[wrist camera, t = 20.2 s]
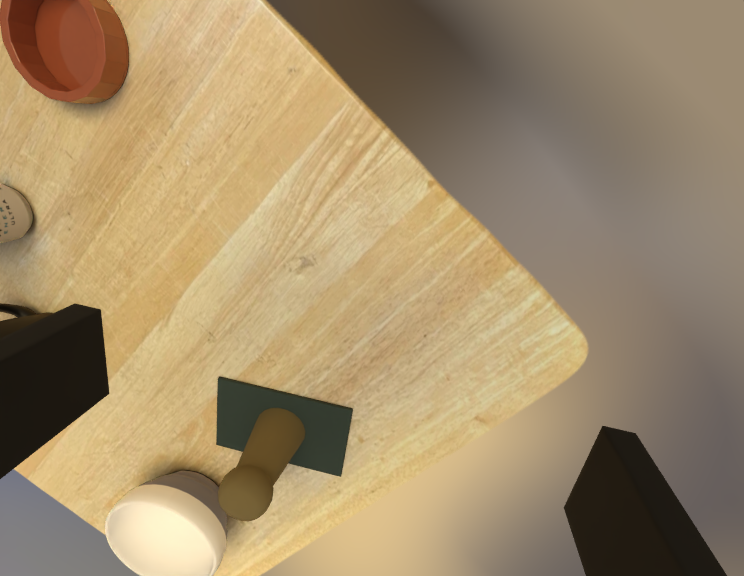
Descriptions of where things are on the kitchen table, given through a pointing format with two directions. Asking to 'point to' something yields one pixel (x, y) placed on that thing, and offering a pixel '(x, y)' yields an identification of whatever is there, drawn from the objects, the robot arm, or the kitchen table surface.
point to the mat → (319, 418)
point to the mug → (23, 318)
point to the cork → (261, 464)
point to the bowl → (169, 526)
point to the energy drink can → (13, 214)
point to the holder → (66, 47)
